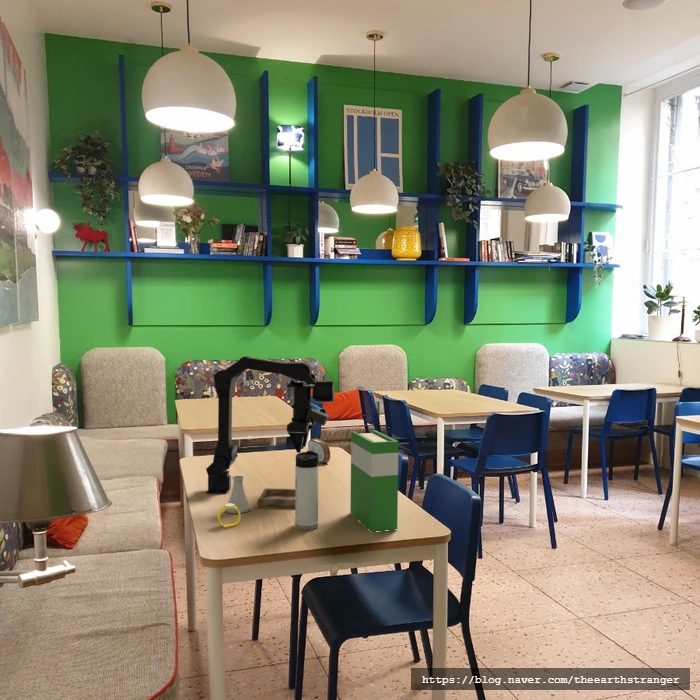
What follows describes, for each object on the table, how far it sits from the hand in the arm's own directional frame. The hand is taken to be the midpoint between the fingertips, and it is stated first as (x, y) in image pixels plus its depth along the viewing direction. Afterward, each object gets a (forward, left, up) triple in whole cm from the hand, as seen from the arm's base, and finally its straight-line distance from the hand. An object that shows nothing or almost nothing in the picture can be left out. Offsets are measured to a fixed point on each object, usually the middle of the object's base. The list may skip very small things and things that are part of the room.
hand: (301, 449), depth 201 cm
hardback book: (+23, -27, -15) cm, 38 cm away
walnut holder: (-5, -10, -14) cm, 18 cm away
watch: (-16, -33, -15) cm, 39 cm away
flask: (-16, -19, -15) cm, 29 cm away
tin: (+2, +47, -15) cm, 50 cm away
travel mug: (+5, -32, -15) cm, 35 cm away
